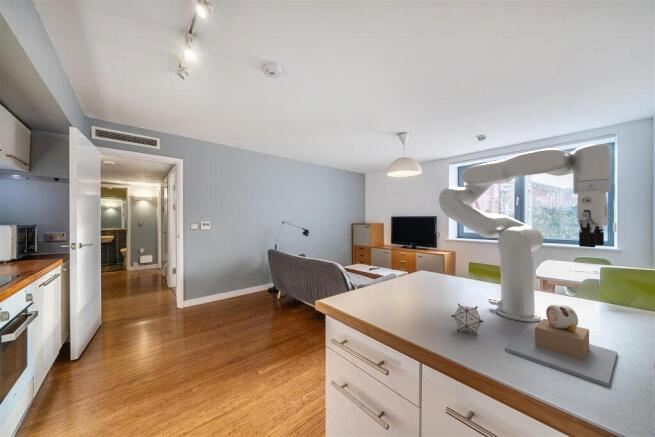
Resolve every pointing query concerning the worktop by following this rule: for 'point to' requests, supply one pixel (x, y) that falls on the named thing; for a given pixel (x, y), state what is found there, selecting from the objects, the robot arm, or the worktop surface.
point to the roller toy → (562, 317)
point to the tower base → (565, 363)
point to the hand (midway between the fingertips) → (591, 245)
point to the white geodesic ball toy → (467, 319)
